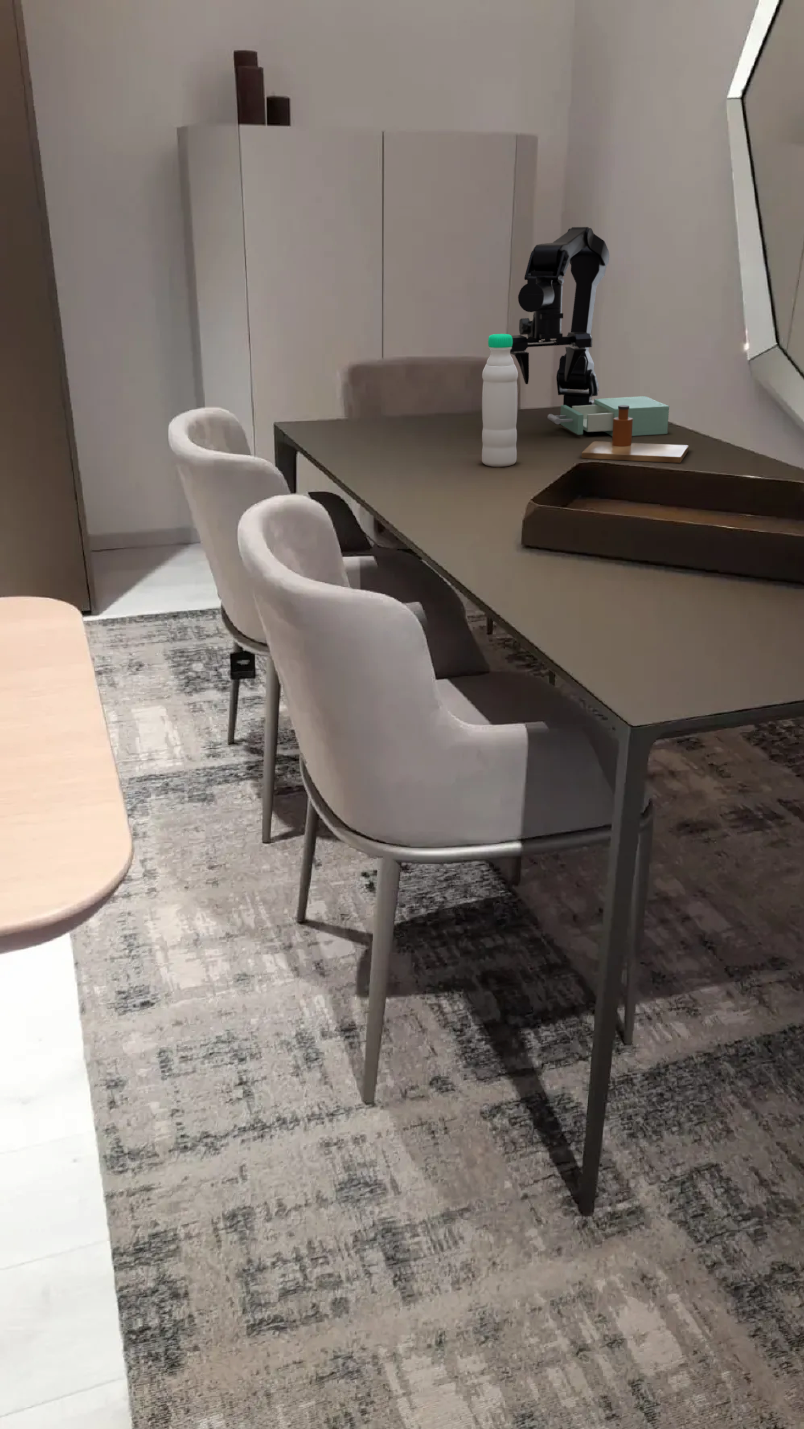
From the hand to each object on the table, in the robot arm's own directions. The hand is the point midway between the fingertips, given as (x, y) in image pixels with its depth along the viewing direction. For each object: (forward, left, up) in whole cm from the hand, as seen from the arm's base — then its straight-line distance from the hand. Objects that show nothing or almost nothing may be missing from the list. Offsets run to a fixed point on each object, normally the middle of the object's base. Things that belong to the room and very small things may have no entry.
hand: (546, 382), depth 243 cm
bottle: (+19, -11, -11) cm, 24 cm away
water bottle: (-2, -29, -12) cm, 32 cm away
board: (+23, -14, -12) cm, 29 cm away
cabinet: (+17, +13, -12) cm, 24 cm away
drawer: (+7, +7, -11) cm, 15 cm away
